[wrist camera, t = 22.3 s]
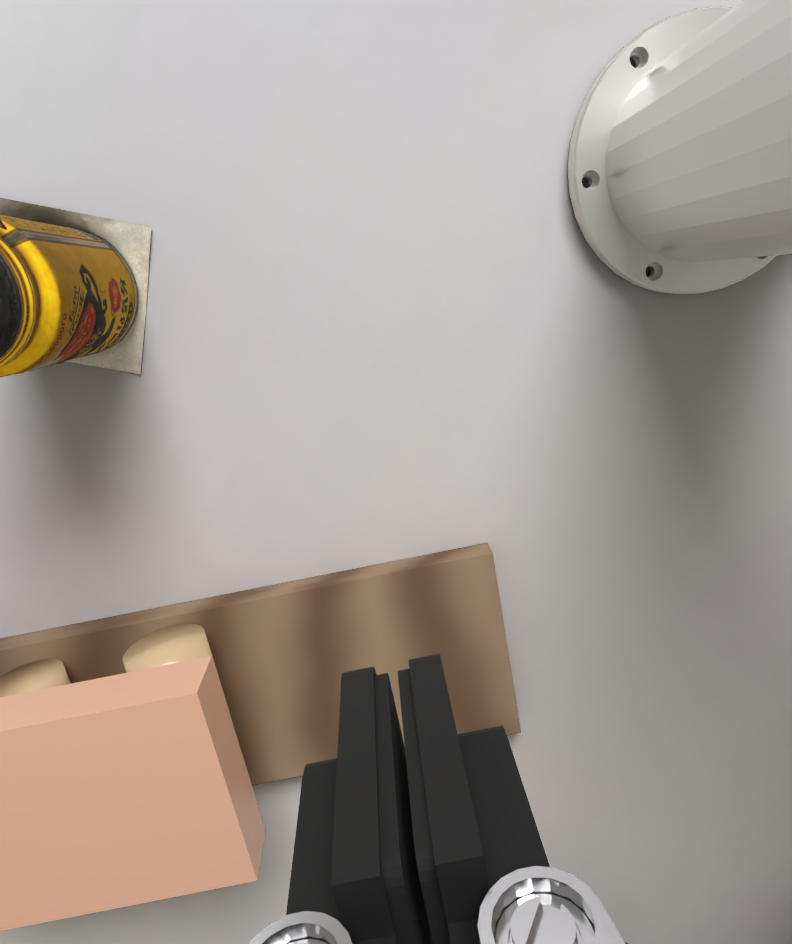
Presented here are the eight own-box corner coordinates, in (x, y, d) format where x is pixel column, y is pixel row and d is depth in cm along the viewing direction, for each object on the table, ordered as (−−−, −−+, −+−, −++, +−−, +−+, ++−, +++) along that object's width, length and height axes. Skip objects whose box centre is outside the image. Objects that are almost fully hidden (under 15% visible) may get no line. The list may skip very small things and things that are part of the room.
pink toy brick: (228, 614, 36) (196, 692, 29) (275, 775, 39) (257, 880, 32) (-55, 670, 36) (-154, 761, 29) (15, 826, 39) (-60, 943, 32)
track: (487, 542, 37) (517, 604, 30) (515, 716, 40) (548, 809, 33) (-75, 653, 37) (-179, 741, 30) (0, 817, 40) (-78, 932, 33)
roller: (78, 655, 36) (32, 701, 32) (132, 799, 38) (95, 857, 35) (14, 662, 36) (-39, 708, 32) (72, 804, 39) (29, 862, 35)
